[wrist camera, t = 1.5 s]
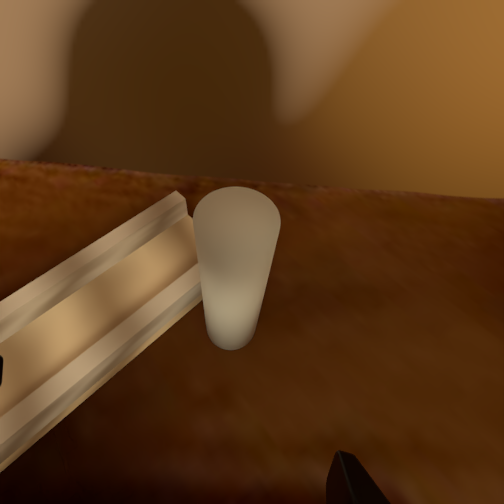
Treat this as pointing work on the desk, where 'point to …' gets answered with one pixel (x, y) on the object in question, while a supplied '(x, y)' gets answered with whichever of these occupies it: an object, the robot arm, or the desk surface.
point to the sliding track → (92, 319)
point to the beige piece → (234, 260)
